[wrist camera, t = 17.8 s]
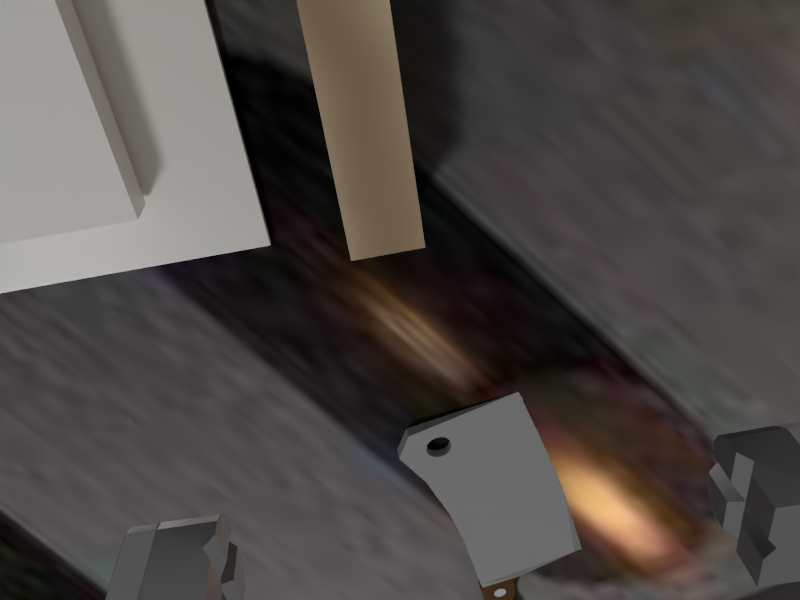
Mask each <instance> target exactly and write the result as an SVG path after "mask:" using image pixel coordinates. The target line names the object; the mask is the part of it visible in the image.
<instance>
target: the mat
mask: <svg viewBox="0 0 800 600" xmlns="http://www.w3.org/2000/svg"><path fill="white" fill-rule="evenodd" d="M71 1H72V3H73V6H74V9H75V12H76V14H77V17H78V20H79V22H80V25H81V28H82V31H83V33H84V36H85V39H86V42H87V44H88V47H89V50H90V52H91V55H92V58H93V61H94V63H95V66H96V69H97V72H98V74H99V77H100V80H101V83H102V85H103V88H104V91H105V93H106V96H107V99H108V102H109V104H110V107H111V110H112V113H113V115H114V118H115V121H116V123H117V126H118V129H119V132H120V134H121V137H122V140H123V143H124V145H125V148H126V151H127V153H128V156H129V159H130V162H131V164H132V167H133V170H134V173H135V175H136V178H137V181H138V183H139V186H140V189H141V192H142V194H143V197H144V200H145V203H146V205H145V207H144V209H143V211H142V213H141V215H140V217H139V219H138V220H135V221H130V222H124V223H118V224H113V225H107V226H101V227H96V228H90V229H84V230H79V231H73V232H67V233H62V234H56V235H50V236H45V237H39V238H33V239H28V240H22V241H16V242H11V243H5V244H0V293H5V292H10V291H16V290H22V289H27V288H33V287H38V286H44V285H50V284H55V283H61V282H67V281H72V280H78V279H84V278H89V277H95V276H100V275H106V274H112V273H117V272H123V271H129V270H134V269H140V268H145V267H151V266H157V265H162V264H168V263H174V262H179V261H185V260H191V259H196V258H202V257H207V256H213V255H219V254H224V253H230V252H236V251H241V250H247V249H253V248H258V247H264V246H269V245H271V240H270V236H269V232H268V229H267V225H266V221H265V218H264V214H263V210H262V207H261V203H260V199H259V195H258V192H257V188H256V184H255V181H254V177H253V173H252V170H251V166H250V162H249V159H248V155H247V151H246V148H245V144H244V140H243V136H242V133H241V129H240V125H239V122H238V118H237V114H236V111H235V107H234V103H233V100H232V96H231V92H230V88H229V85H228V81H227V77H226V74H225V70H224V66H223V63H222V59H221V55H220V52H219V48H218V44H217V41H216V37H215V33H214V29H213V26H212V22H211V18H210V15H209V11H208V7H207V4H206V0H71Z"/></svg>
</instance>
